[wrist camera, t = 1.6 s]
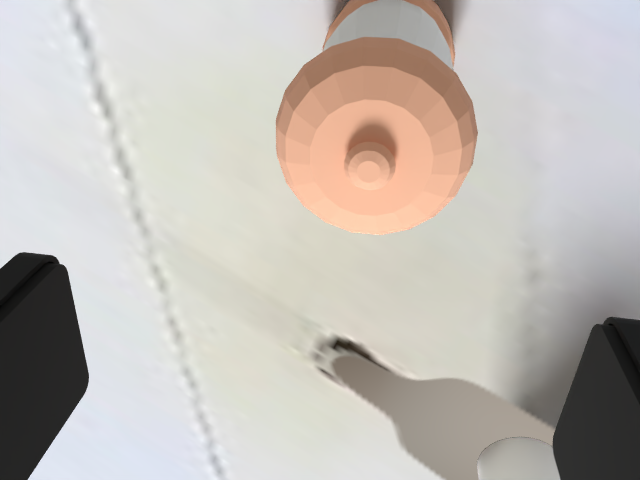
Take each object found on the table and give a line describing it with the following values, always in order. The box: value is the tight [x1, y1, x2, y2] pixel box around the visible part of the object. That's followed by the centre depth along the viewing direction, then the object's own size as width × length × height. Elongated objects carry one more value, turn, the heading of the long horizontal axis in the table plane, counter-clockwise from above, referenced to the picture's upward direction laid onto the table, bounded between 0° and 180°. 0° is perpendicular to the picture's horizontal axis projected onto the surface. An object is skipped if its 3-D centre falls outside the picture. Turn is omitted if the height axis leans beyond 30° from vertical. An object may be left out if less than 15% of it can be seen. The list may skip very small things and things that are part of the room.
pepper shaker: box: [276, 0, 478, 235], centre depth 26 cm, size 7×7×19 cm
